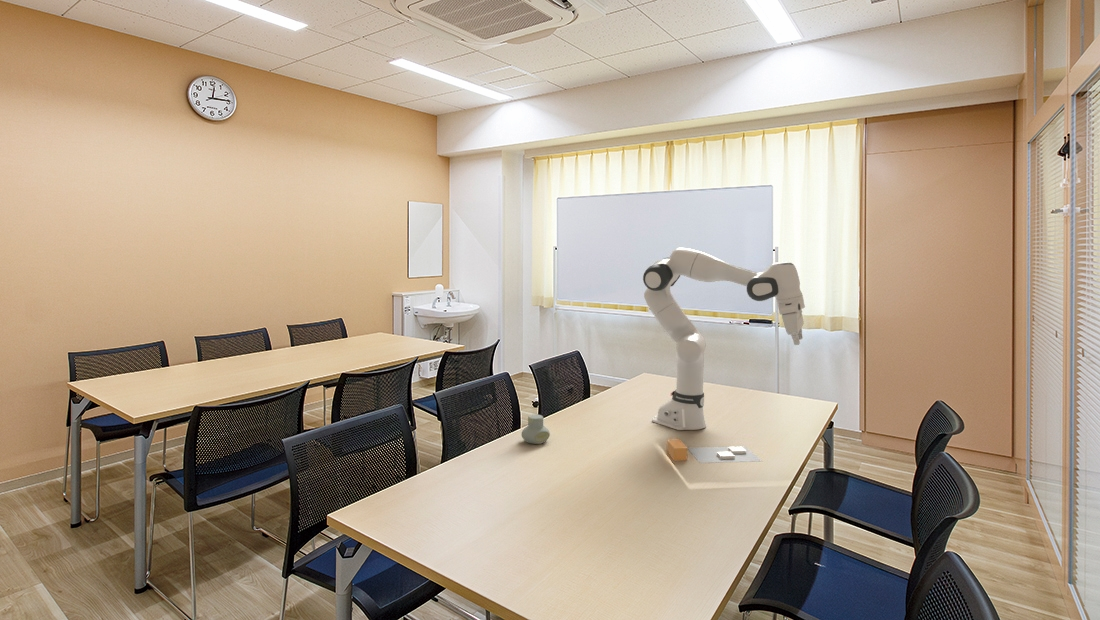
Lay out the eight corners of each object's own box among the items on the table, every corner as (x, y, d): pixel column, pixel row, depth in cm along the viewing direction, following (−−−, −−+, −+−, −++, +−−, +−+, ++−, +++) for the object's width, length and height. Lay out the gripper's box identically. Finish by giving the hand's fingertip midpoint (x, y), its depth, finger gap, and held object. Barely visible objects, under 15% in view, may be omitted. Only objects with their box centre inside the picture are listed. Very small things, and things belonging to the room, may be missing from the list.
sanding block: (686, 464, 189) (687, 448, 188) (673, 465, 189) (674, 448, 188) (678, 454, 198) (679, 438, 197) (666, 455, 198) (667, 439, 197)
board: (699, 466, 187) (699, 462, 187) (686, 451, 201) (686, 447, 201) (761, 465, 188) (762, 461, 188) (744, 450, 202) (744, 446, 202)
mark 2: (732, 453, 195) (732, 451, 195) (728, 449, 199) (728, 447, 199) (746, 453, 195) (746, 450, 195) (741, 449, 199) (741, 446, 199)
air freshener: (530, 447, 204) (530, 421, 203) (518, 441, 211) (517, 416, 210) (553, 441, 211) (553, 416, 209) (541, 435, 217) (541, 411, 216)
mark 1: (720, 458, 190) (720, 456, 190) (716, 454, 194) (716, 451, 194) (734, 458, 190) (734, 455, 190) (730, 454, 194) (730, 451, 194)
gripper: (785, 302, 209) (792, 337, 210) (777, 310, 192) (785, 348, 193) (803, 299, 206) (810, 335, 207) (797, 307, 189) (805, 346, 189)
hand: (798, 341), depth 199 cm, fingers open, 8 cm apart
